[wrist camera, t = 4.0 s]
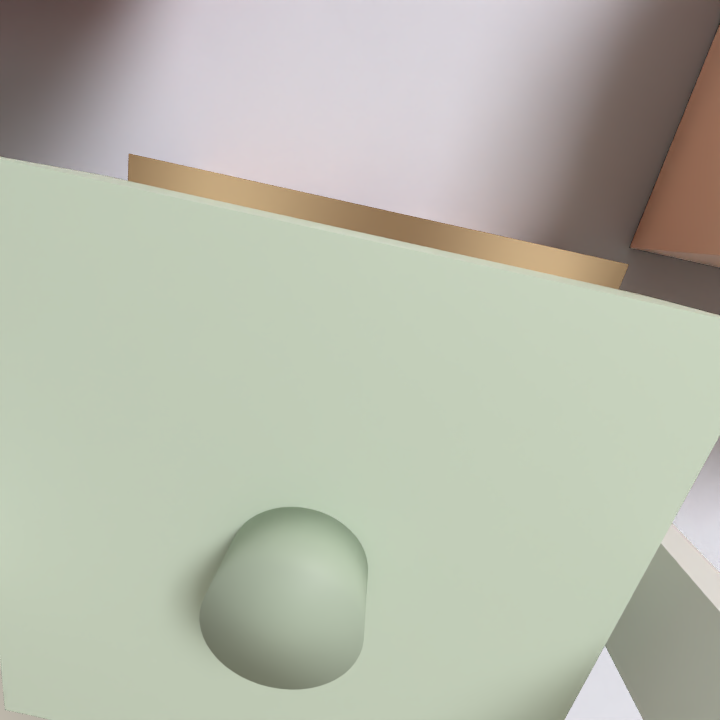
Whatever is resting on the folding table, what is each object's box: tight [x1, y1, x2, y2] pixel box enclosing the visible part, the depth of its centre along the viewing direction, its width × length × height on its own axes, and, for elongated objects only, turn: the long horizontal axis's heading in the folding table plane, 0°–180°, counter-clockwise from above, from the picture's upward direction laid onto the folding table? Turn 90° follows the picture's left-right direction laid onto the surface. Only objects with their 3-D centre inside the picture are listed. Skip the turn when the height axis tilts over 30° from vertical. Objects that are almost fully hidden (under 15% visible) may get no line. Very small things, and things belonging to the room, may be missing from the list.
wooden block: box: [128, 154, 629, 289], centre depth 11 cm, size 10×12×3 cm
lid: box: [0, 157, 720, 720], centre depth 8 cm, size 11×11×4 cm
